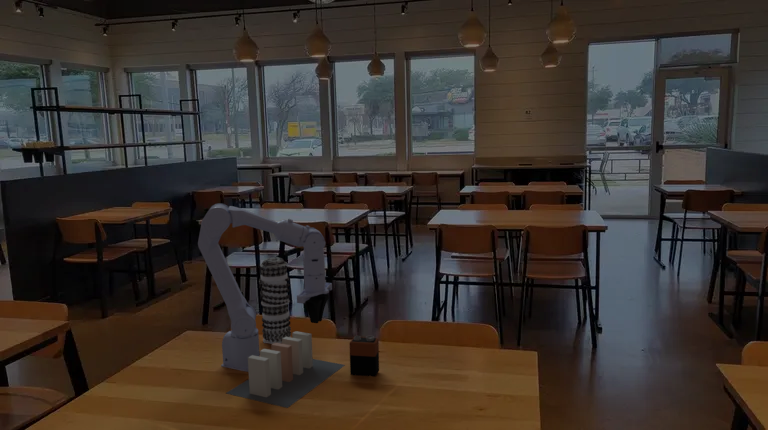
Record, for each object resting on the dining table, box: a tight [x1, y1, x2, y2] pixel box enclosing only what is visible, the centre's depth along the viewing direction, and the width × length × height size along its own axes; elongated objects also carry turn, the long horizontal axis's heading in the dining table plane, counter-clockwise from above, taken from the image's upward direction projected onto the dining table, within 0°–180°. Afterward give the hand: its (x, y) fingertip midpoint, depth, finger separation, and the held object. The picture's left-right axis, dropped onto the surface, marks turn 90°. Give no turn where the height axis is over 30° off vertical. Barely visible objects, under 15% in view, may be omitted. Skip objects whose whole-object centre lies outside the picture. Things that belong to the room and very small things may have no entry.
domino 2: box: [259, 348, 282, 389], centre depth 137 cm, size 2×5×9 cm, turn 64°
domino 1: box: [248, 355, 271, 397], centre depth 133 cm, size 2×5×9 cm, turn 64°
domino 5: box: [291, 330, 314, 368], centre depth 149 cm, size 2×5×9 cm, turn 64°
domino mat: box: [225, 358, 346, 409], centre depth 142 cm, size 18×26×1 cm
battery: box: [349, 335, 380, 378], centre depth 144 cm, size 4×7×10 cm, turn 79°
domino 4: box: [281, 336, 303, 375], centre depth 145 cm, size 2×5×9 cm, turn 64°
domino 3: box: [270, 343, 293, 382], centre depth 141 cm, size 2×5×9 cm, turn 64°
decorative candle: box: [258, 257, 292, 345], centre depth 169 cm, size 9×9×25 cm
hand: (316, 321), depth 155 cm, fingers closed
